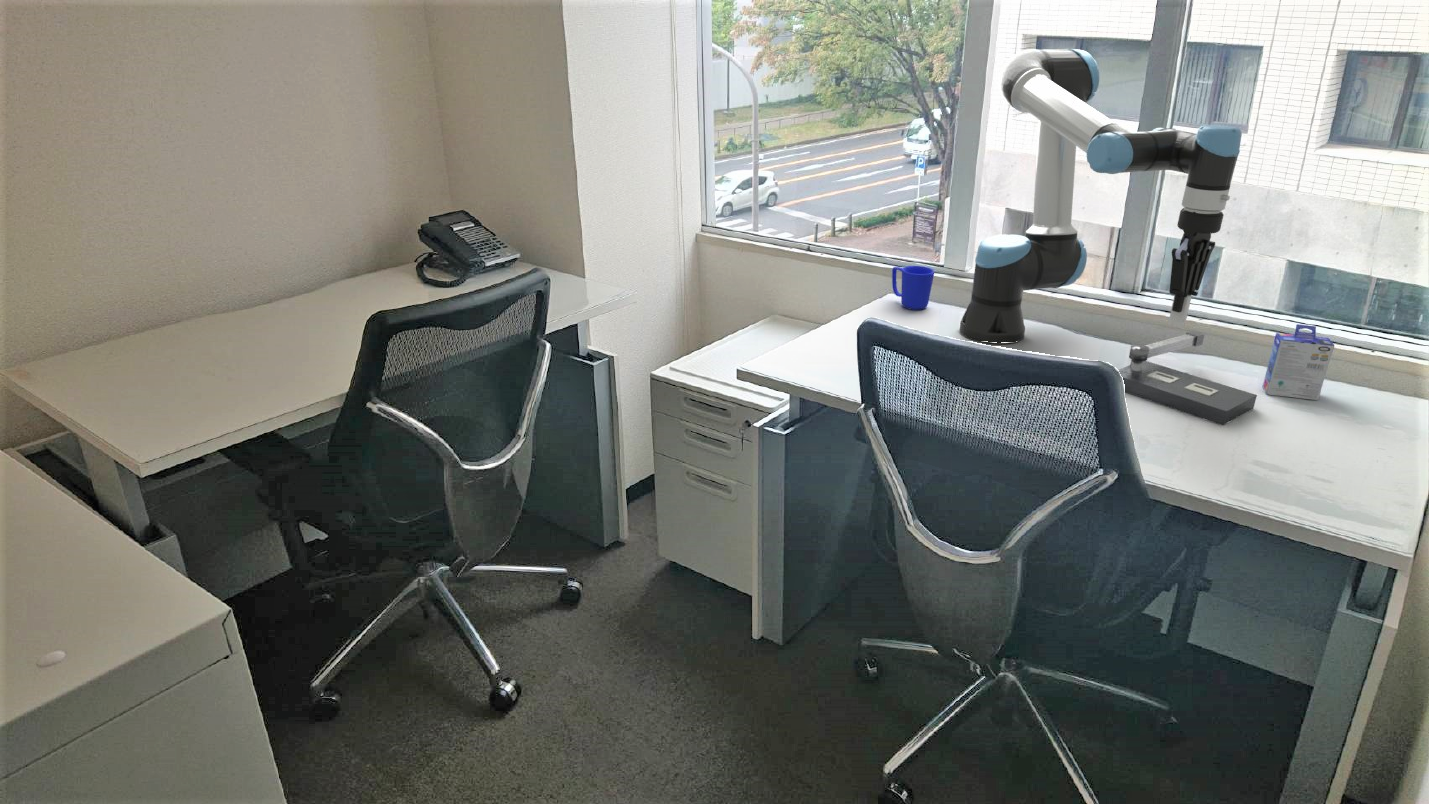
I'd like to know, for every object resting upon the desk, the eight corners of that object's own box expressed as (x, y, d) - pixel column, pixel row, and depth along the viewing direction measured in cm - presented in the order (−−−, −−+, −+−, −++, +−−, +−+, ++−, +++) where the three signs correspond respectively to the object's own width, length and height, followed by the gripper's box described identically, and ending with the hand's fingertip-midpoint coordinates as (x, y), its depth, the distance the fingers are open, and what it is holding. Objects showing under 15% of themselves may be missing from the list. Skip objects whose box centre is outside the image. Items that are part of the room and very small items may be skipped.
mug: (900, 296, 250) (904, 260, 246) (936, 307, 242) (940, 270, 238) (880, 302, 245) (883, 266, 241) (916, 313, 237) (920, 276, 233)
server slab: (1107, 386, 195) (1112, 364, 193) (1139, 372, 202) (1144, 351, 200) (1222, 425, 178) (1229, 401, 175) (1253, 408, 185) (1259, 385, 183)
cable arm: (1139, 363, 193) (1142, 351, 191) (1124, 357, 195) (1127, 346, 194) (1203, 345, 203) (1206, 334, 202) (1188, 340, 206) (1191, 329, 205)
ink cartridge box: (1312, 391, 194) (1332, 326, 188) (1319, 401, 189) (1340, 335, 183) (1260, 385, 196) (1278, 320, 190) (1265, 395, 192) (1284, 329, 186)
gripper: (1205, 217, 171) (1178, 337, 180) (1238, 208, 178) (1210, 324, 188) (1166, 210, 176) (1141, 327, 186) (1199, 202, 183) (1174, 315, 193)
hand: (1176, 325), depth 187 cm, fingers closed
